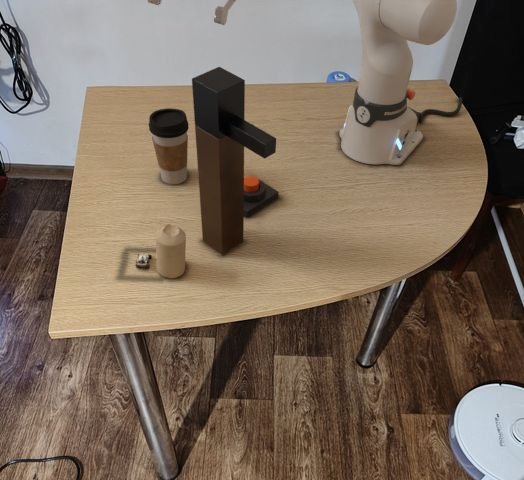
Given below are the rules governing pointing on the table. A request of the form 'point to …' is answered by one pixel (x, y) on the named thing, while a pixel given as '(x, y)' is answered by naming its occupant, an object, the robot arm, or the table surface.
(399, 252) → the table surface
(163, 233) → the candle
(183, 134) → the coffee cup
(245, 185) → the switch button
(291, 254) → the table surface
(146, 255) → the toy car
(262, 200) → the switch plate
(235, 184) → the post
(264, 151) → the black hammer
